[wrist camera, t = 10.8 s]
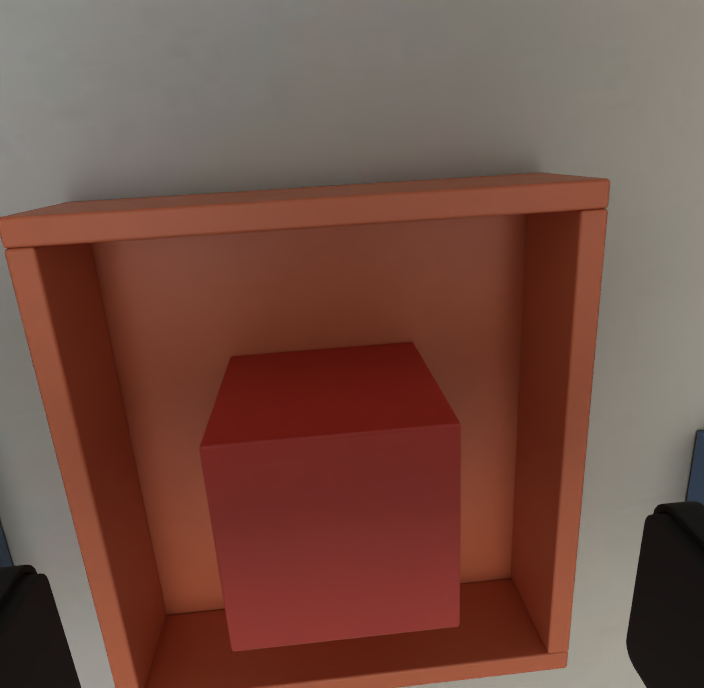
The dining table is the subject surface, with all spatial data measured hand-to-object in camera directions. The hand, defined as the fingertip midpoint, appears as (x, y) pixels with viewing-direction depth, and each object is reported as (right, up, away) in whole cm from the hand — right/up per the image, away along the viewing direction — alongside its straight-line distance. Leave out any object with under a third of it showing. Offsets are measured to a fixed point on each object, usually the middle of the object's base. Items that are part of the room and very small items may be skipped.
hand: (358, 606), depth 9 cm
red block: (-1, +2, +7) cm, 7 cm away
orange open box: (-1, +2, +8) cm, 8 cm away
